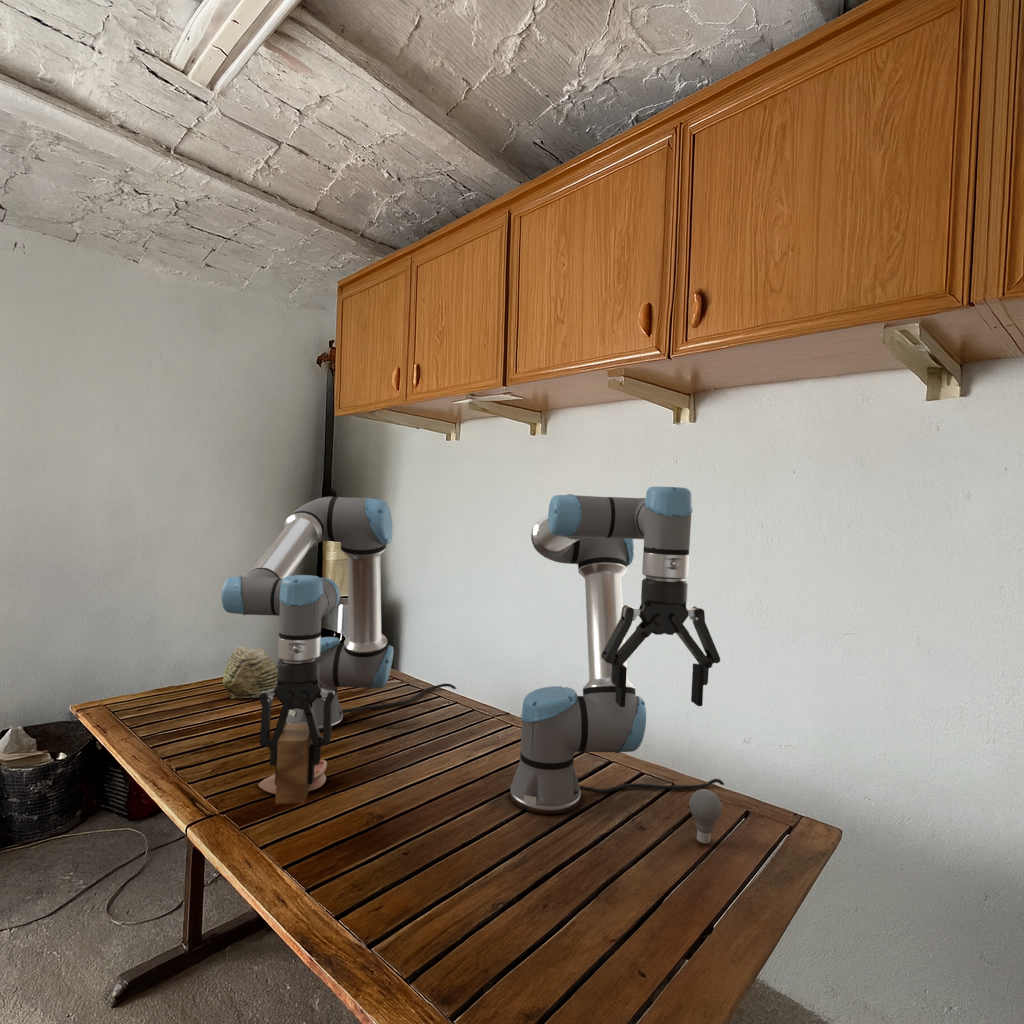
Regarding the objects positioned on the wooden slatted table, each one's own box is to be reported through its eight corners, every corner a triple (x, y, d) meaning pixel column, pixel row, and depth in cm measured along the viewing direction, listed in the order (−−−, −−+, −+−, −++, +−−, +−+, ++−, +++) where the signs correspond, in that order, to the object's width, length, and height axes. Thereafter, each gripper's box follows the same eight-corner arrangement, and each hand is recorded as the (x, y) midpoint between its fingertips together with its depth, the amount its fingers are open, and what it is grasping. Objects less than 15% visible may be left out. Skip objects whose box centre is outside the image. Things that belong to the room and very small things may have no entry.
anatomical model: (250, 772, 134) (280, 751, 146) (249, 790, 135) (280, 768, 146) (307, 780, 132) (333, 759, 143) (306, 799, 132) (333, 776, 143)
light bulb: (682, 833, 125) (685, 783, 125) (712, 833, 125) (714, 783, 125) (694, 850, 119) (696, 797, 119) (725, 850, 119) (727, 798, 119)
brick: (275, 804, 114) (277, 740, 114) (284, 782, 123) (286, 723, 123) (304, 803, 115) (306, 740, 115) (311, 781, 124) (313, 722, 124)
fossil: (218, 695, 195) (220, 647, 195) (278, 685, 208) (279, 640, 207) (228, 703, 189) (230, 653, 188) (289, 692, 201) (290, 645, 201)
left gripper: (242, 664, 113) (238, 792, 114) (347, 664, 116) (342, 788, 117) (252, 653, 121) (248, 774, 121) (350, 653, 124) (346, 771, 124)
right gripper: (599, 579, 101) (593, 712, 101) (745, 583, 105) (738, 710, 105) (586, 574, 108) (581, 697, 108) (723, 577, 112) (717, 696, 112)
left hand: (294, 781), depth 119 cm, fingers closed on brick, 5 cm apart
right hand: (658, 704), depth 107 cm, fingers open, 13 cm apart
